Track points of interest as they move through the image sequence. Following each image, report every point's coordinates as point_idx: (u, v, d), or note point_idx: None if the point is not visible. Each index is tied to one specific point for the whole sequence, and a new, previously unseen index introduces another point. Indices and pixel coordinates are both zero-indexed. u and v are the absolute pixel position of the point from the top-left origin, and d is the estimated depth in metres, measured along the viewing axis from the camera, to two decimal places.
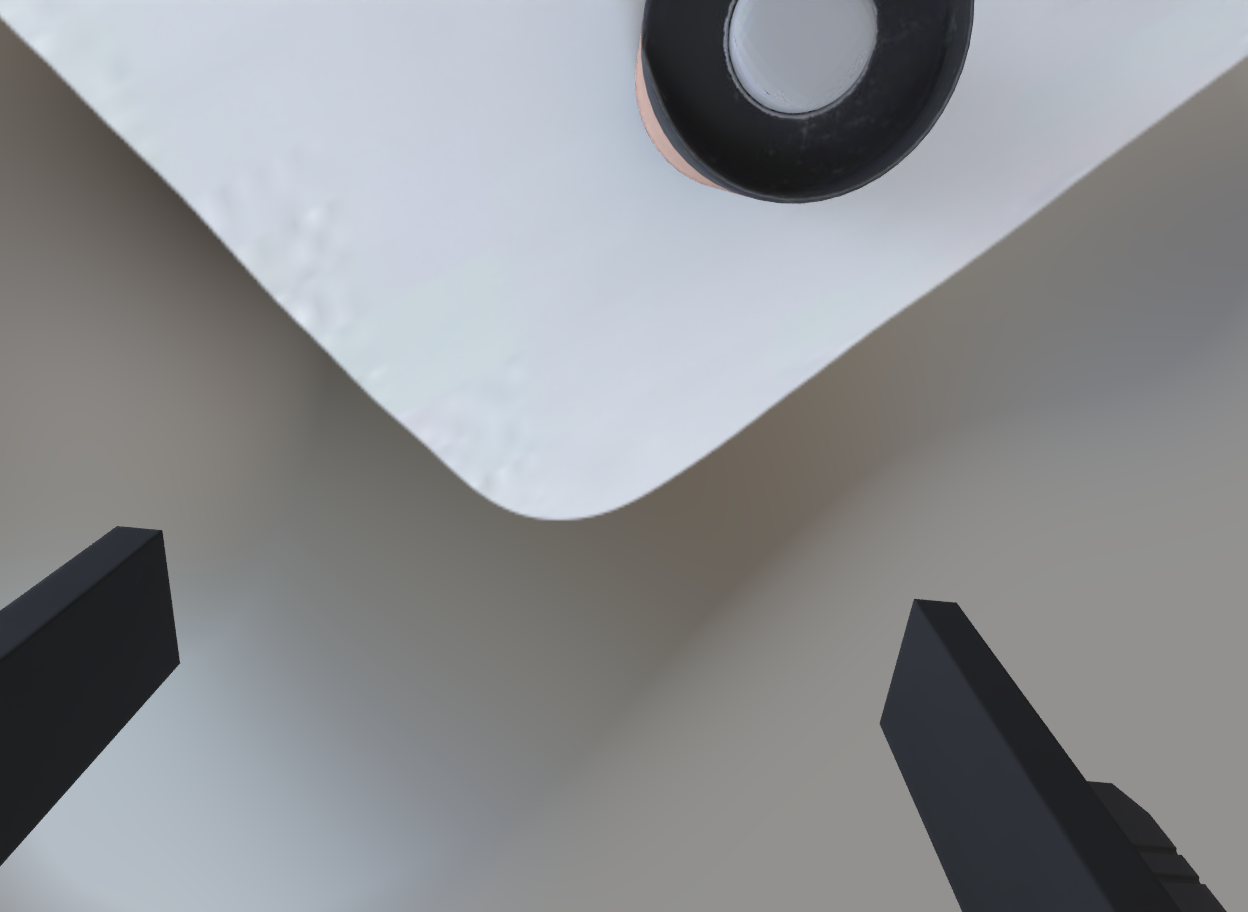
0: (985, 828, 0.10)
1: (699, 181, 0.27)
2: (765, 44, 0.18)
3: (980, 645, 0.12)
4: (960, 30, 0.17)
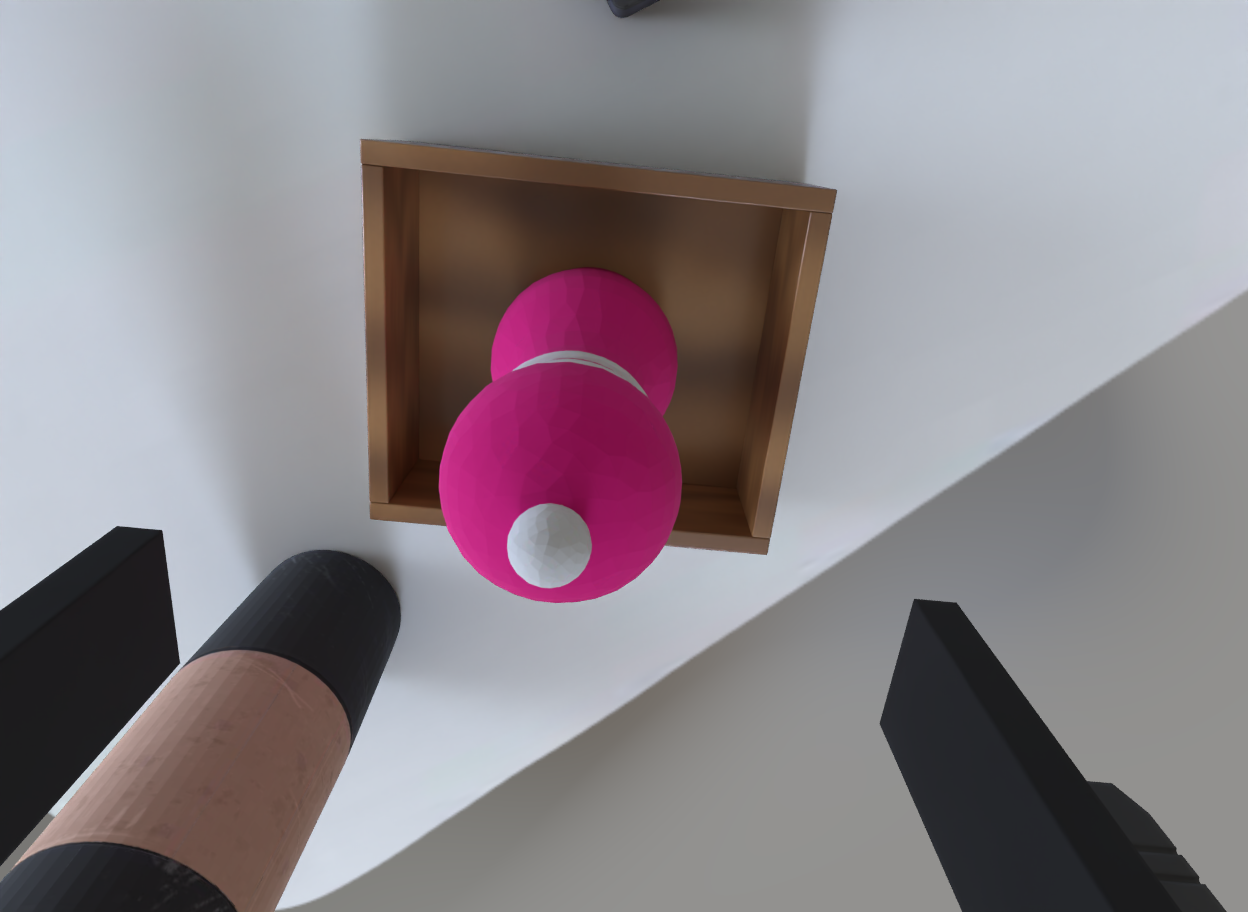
0: (985, 828, 0.10)
1: None
2: None
3: (980, 645, 0.12)
4: None
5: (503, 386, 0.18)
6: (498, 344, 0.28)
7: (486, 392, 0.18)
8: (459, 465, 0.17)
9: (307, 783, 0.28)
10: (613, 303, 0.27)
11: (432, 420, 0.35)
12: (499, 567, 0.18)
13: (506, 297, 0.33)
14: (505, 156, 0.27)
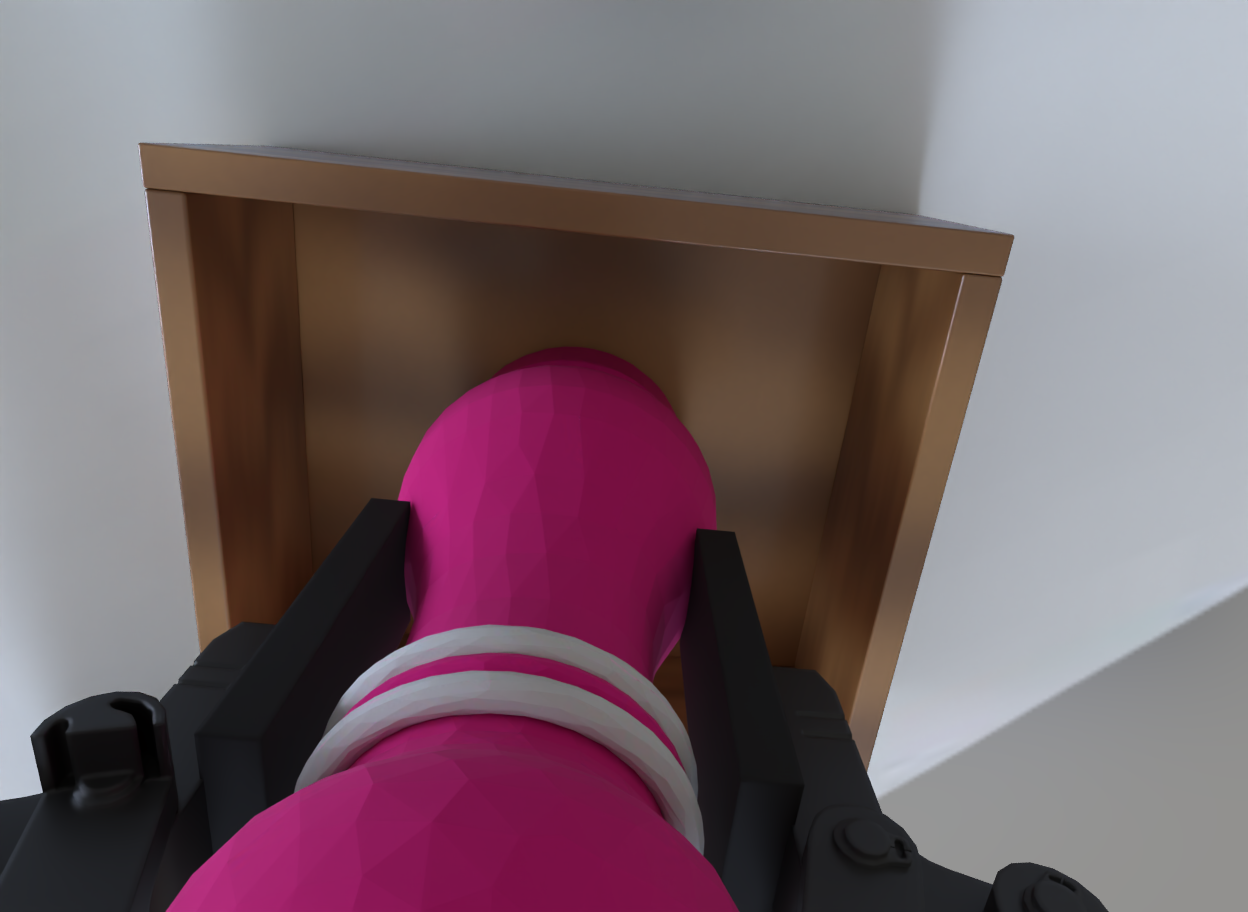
0: (704, 707, 0.12)
1: None
2: None
3: (736, 563, 0.14)
4: None
5: None
6: None
7: None
8: None
9: None
10: (606, 444, 0.14)
11: None
12: None
13: (440, 392, 0.21)
14: (408, 175, 0.14)
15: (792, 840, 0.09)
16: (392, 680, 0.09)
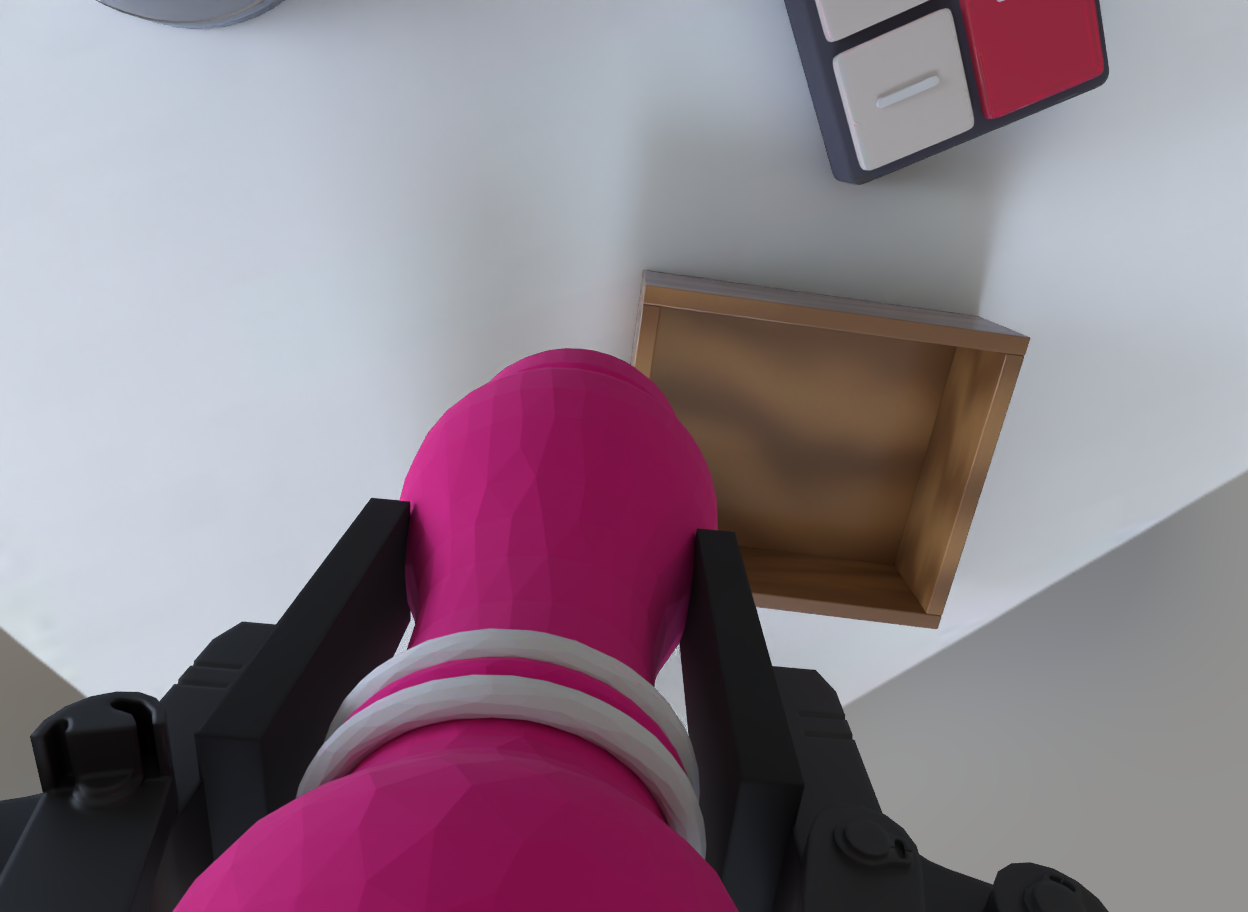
0: (704, 707, 0.12)
1: None
2: None
3: (736, 563, 0.14)
4: None
5: None
6: None
7: None
8: None
9: None
10: (607, 447, 0.14)
11: None
12: None
13: (716, 400, 0.39)
14: (762, 302, 0.32)
15: (792, 840, 0.09)
16: (394, 684, 0.09)
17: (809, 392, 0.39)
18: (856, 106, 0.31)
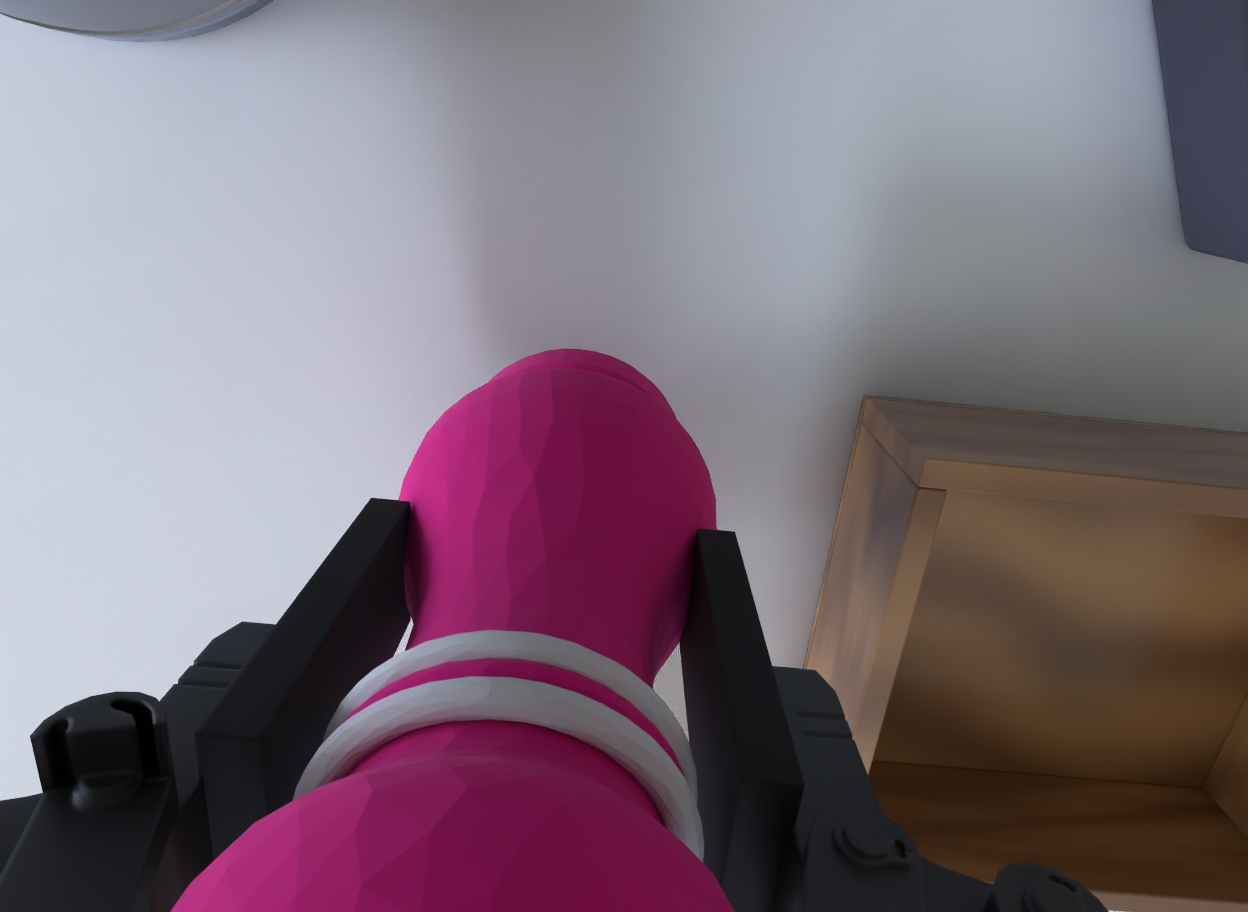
0: (704, 708, 0.12)
1: None
2: None
3: (736, 563, 0.14)
4: None
5: None
6: None
7: None
8: None
9: None
10: (605, 448, 0.14)
11: None
12: None
13: (962, 577, 0.26)
14: (1123, 479, 0.19)
15: (792, 840, 0.09)
16: (391, 685, 0.09)
17: (1107, 563, 0.26)
18: None
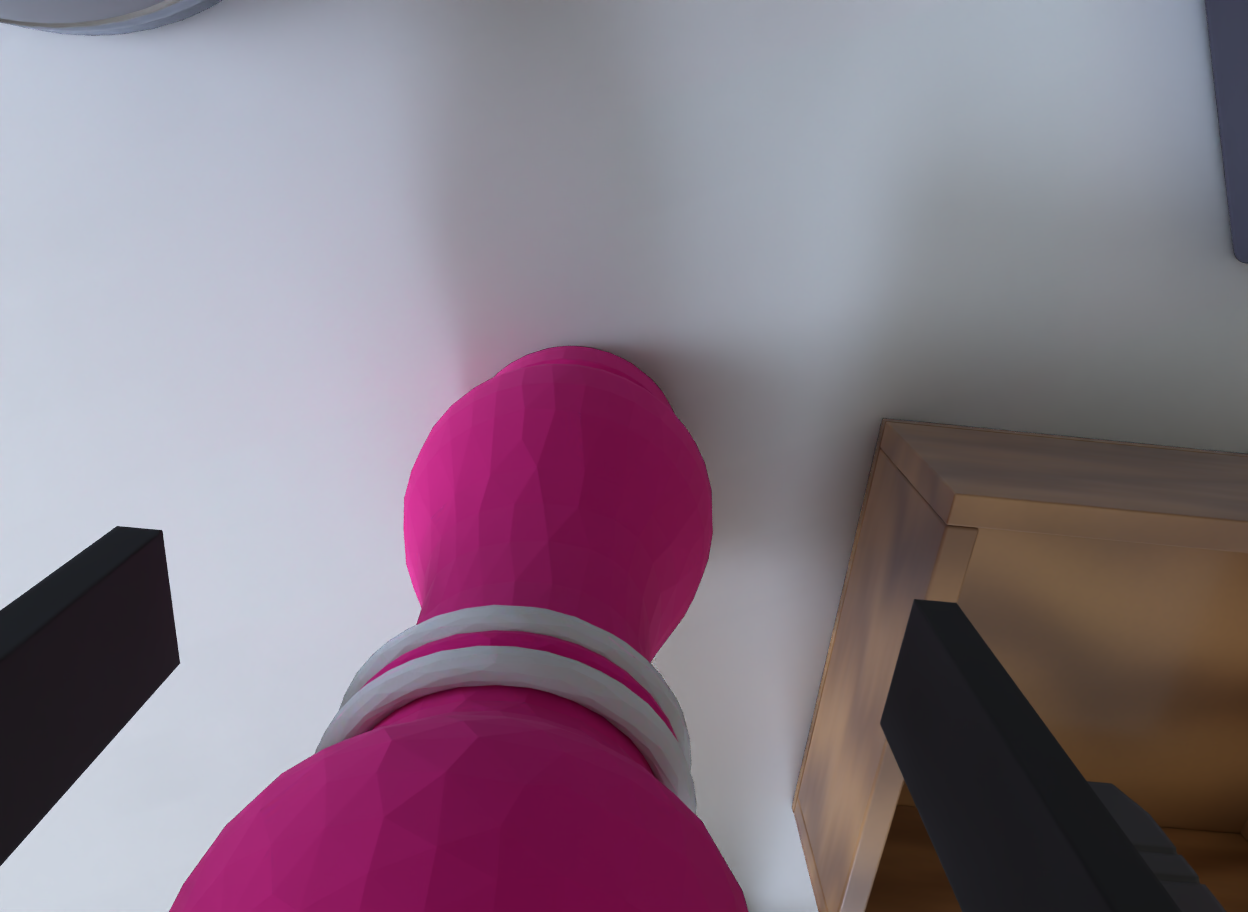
0: (984, 827, 0.10)
1: None
2: None
3: (980, 645, 0.12)
4: None
5: (273, 865, 0.06)
6: (409, 500, 0.16)
7: (235, 861, 0.06)
8: None
9: None
10: (605, 439, 0.15)
11: None
12: None
13: (987, 612, 0.24)
14: (1174, 517, 0.17)
15: None
16: (405, 656, 0.10)
17: (1142, 597, 0.24)
18: None
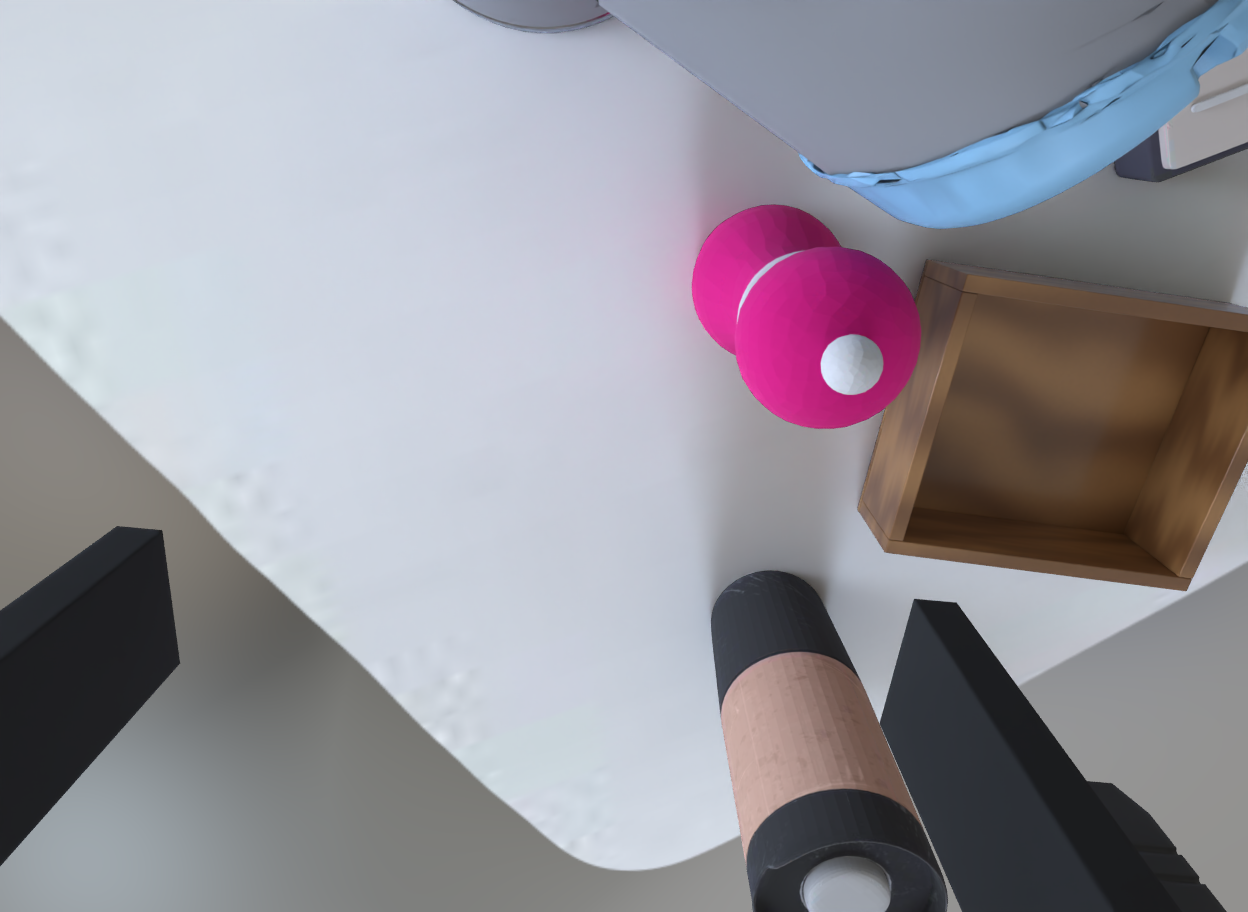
0: (985, 828, 0.10)
1: None
2: (825, 908, 0.30)
3: (980, 645, 0.12)
4: (939, 906, 0.30)
5: (802, 258, 0.24)
6: (711, 261, 0.34)
7: (786, 264, 0.24)
8: (774, 312, 0.24)
9: None
10: (811, 229, 0.33)
11: None
12: (796, 389, 0.24)
13: (978, 380, 0.42)
14: (1072, 290, 0.35)
15: None
16: None
17: (1066, 373, 0.42)
18: None
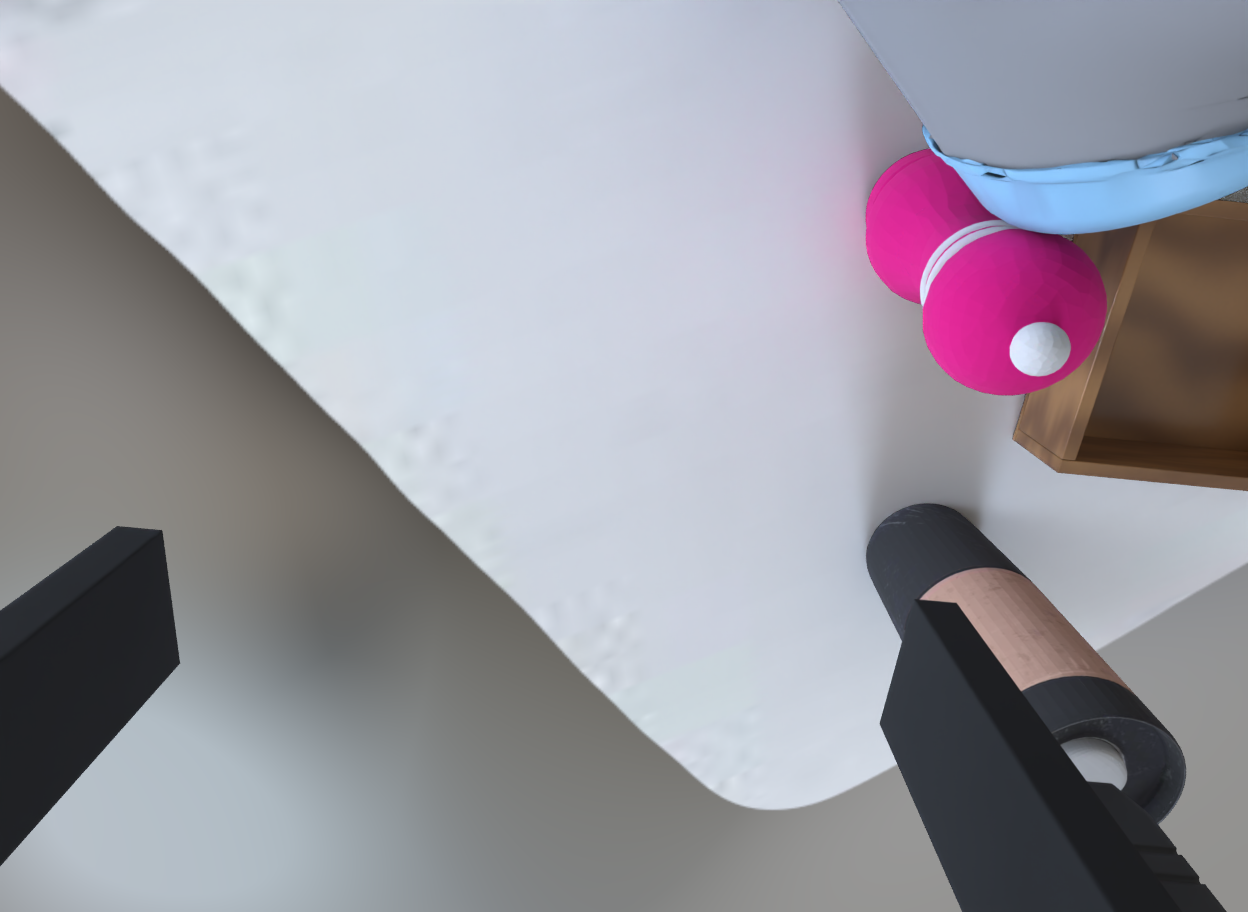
0: (985, 827, 0.10)
1: None
2: None
3: (980, 645, 0.12)
4: (1174, 783, 0.31)
5: (997, 244, 0.26)
6: (889, 213, 0.36)
7: (980, 248, 0.27)
8: (968, 297, 0.26)
9: None
10: None
11: None
12: (982, 366, 0.27)
13: (1136, 305, 0.44)
14: None
15: None
16: (968, 233, 0.30)
17: (1222, 295, 0.43)
18: None
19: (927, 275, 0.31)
